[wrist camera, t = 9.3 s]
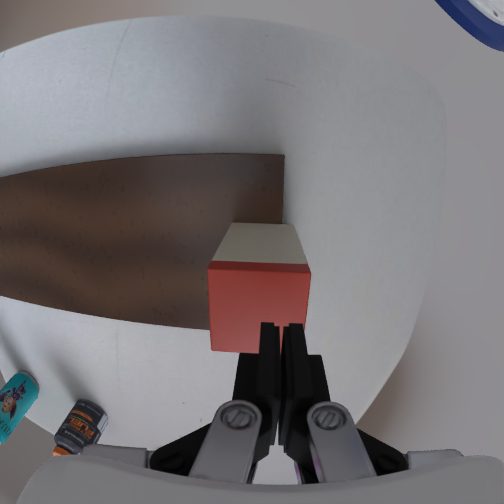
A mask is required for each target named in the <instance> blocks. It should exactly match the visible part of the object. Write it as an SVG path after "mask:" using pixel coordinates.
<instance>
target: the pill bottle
mask: <svg viewBox="0 0 504 504" xmlns="http://www.w3.org/2000/svg"><path fill="white" fill-rule="evenodd" d="M107 423H108V419H107V416H106V415H105V413H104V412H103V411H102V410H101V409H100V408H99V407H97V406H96V405H95V404H93V403H91V402H89V401H86V400H79V401H77V402H76V404H75V405H74V407H73V408H72V410H71V411H70V413H69V414H68V416H67V417H66V419H65V420H64V422H63V423H62V425H61V426H60V428H59V429H58V431H57V433H56V434H55V437H54V439H55V442H56V444H57V446H56V447H55V449H54V450H53V455H54V456H60V455H79V454H80V452H81V450H82V449H83V448H84V447H85V446H87V445H90V444H97V442H98V440H99V438H100V436H101V434H102V432H103V431H104V429H105V427H106V425H107Z"/></svg>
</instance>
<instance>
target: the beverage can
mask: <svg viewBox="0 0 504 504" xmlns="http://www.w3.org/2000/svg"><path fill="white" fill-rule="evenodd" d="M38 393H39V386H38V384H37V382H36V381H35V379H34V378H33V377H32V376H31V375H29V374H28V373H27V372H23V371H22V372H19V373H17V374H15V375H14V376H13V377H12V378H11V379H10V380H9V381H8V382H7V383H6V385H5V386H4V387H3V388H2V389H1V390H0V445H1V443H2V442H5V441H6V440H7V438H8V437H9V435H10V434H11V433H12V431H13V430H14V428H15V427H16V426H17V424H18V423H19V422H20V420H21V419H22V417H23V416H24V415H25V413H26V412H27V411H28V409H29V408H30V407H31V405H32V404H33V403H34V401H35V400H36V399H37V397H38Z"/></svg>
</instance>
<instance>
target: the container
mask: <svg viewBox="0 0 504 504" xmlns="http://www.w3.org/2000/svg"><path fill="white" fill-rule="evenodd" d="M207 281H208V303H209V322H210V338H211V350H212V351H223V352H237V353H240V352H242V353H259V343H260V328H261V322H274V326H280V354H281V346H282V336H283V327H284V326H289V323H303V327H304V330H305V322H306V315H307V307H308V298H309V290H310V281H311V271H310V268H309V266H308V263H307V260H306V257H305V254H304V251H303V249H302V246H301V243H300V240H299V238H298V235H297V232H296V230H295V227H294V225H288V224H263V223H232V224H231V225H230V227H229V229H228V231H227V233H226V235H225V236H224V238H223V240H222V242H221V244H220V246H219V247H218V249H217V251H216V253H215V255H214V257H213V259H212V261H211V263H210V264H209V266H208V268H207Z"/></svg>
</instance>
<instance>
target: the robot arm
mask: <svg viewBox="0 0 504 504" xmlns="http://www.w3.org/2000/svg"><path fill="white" fill-rule="evenodd" d="M468 1H469V2H470V3H471V4H472V5H473V6H474V7H475V8H477V9H478V10H479V11H480V12H481V13H483V14H484V15H485V16H486V17H488V18H489V19H491V20H492V21H494V22H496V23H498V24H500V25H503V26H504V0H468ZM277 423H278V445H284V453H287V455H288V456H289V457H290V458H292V459H293V460H294V467H295V471H296V476H297V480H298V484H299V485H264V484H253V480H254V477H255V473H256V469H257V465H258V461H260V460H261V459H263V458H264V457H265V456H267V455H268V454H269V447H270V445H274V442H275V436H276V430H277ZM16 504H504V463H503V462H502V461H501V460H499V459H497V458H495V457H491V456H479V455H478V456H477V455H476V456H463V455H462V454H461V453H460V452H459V451H457V450H454V449H446V450H431V451H408V452H407V453H406V454H402V453H401V452H399V451H398V450H396V449H394V448H393V447H391V446H389V445H387V444H385V443H383V442H381V441H379V440H377V439H376V438H374V437H372V436H370V435H368V434H366V433H365V432H363V431H361V430H359V429H358V428H356V426H355V424H354V421H353V419H352V417H351V415H350V413H349V411H348V410H347V409H346V408H345V407H344V406H343V405H341V404H339V403H336V402H331V400H330V395H329V390H328V385H327V380H326V375H325V370H324V365H323V361H322V357H321V355H308V353H307V346H306V340H305V334H304V327H303V323H289V326H284V327H283V336H282V346H281V354H280V326H274V322H261V328H260V343H259V353H242V352H240V354H239V360H238V366H237V372H236V379H235V385H234V391H233V397H232V401H228V402H226V403H224V404H223V405H221V406H220V407H219V408H218V410H217V411H216V414H215V416H214V418H213V421H212V422H211V423H209V424H207V425H206V426H204V427H202V428H200V429H198V430H196V431H194V432H192V433H190V434H188V435H186V436H184V437H182V438H180V439H178V440H175V441H173V442H171V443H169V444H167V445H165V446H162V447H160V448H159V449H157V450H156V451H148V450H147V448H135V447H122V446H112V445H103V444H90V445H87V446H85V447H84V448H83V449H82V450H81V452H80V454H79V455H60V456H55V457H52V458H50V459H48V460H46V461H45V462H44V463H43V464H41V466H40V467H39V468H38V469H37V470H36V471H35V473H34V474H33V475H32V477H31V478H30V480H29V481H28V483H27V484H26V486H25V488H24V490H23V491H22V493H21V495H20V497H19V498H18V500H17V502H16Z"/></svg>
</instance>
